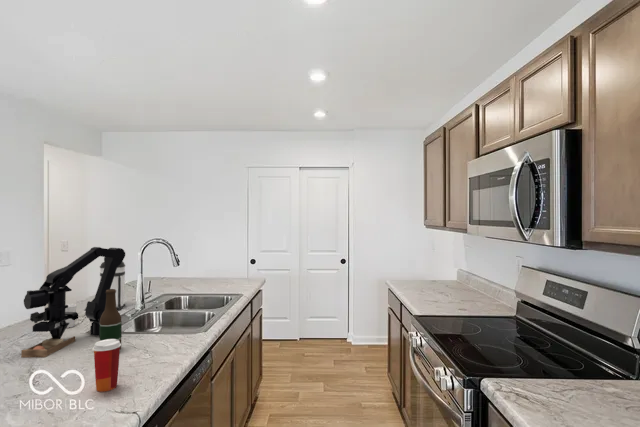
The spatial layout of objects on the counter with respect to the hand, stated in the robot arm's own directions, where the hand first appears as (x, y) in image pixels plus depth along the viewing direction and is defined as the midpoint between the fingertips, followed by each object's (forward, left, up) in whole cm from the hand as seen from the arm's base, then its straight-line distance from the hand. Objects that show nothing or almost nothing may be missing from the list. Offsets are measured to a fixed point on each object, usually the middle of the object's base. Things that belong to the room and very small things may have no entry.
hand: (56, 342), depth 149 cm
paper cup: (-39, +35, -2) cm, 53 cm away
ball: (0, +9, 0) cm, 9 cm away
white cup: (+15, -29, -2) cm, 33 cm away
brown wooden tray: (0, +3, -2) cm, 4 cm away
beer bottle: (-23, +3, -2) cm, 23 cm away
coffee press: (+12, -64, -2) cm, 65 cm away
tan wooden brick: (0, +3, -1) cm, 3 cm away
